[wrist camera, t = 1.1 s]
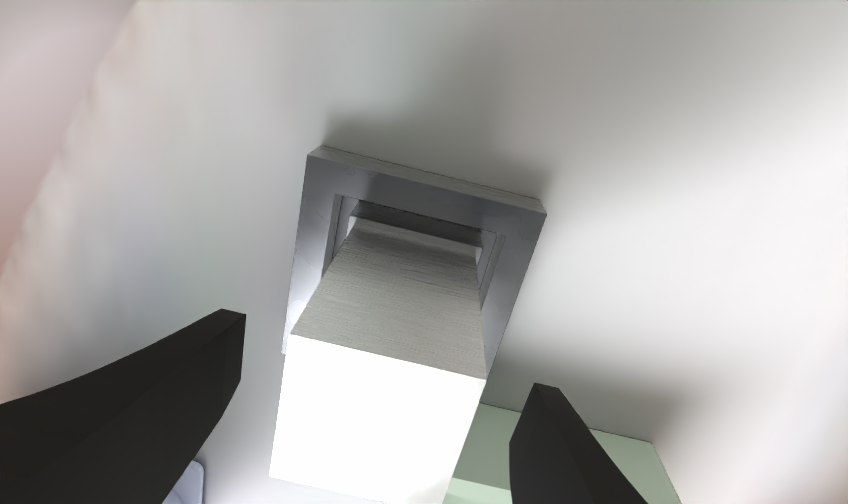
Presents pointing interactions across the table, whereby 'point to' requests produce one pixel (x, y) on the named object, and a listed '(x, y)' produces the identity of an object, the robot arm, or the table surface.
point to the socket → (422, 195)
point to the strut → (385, 362)
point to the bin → (489, 462)
